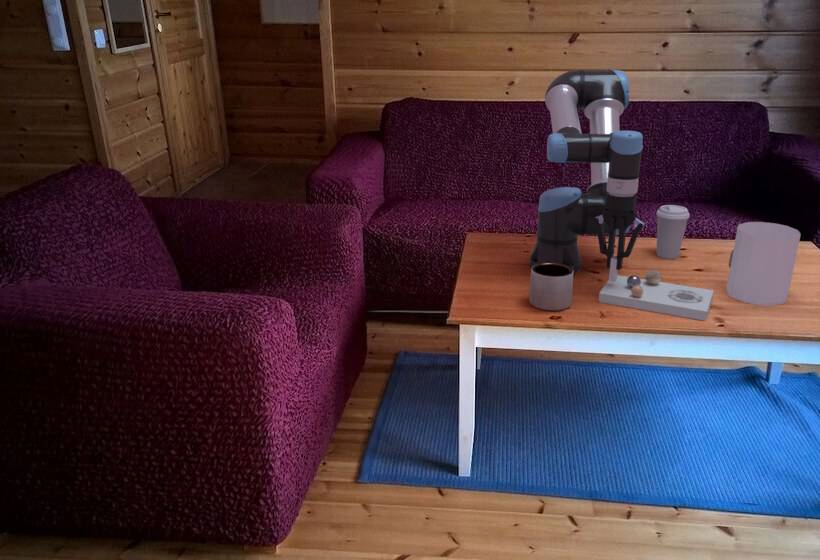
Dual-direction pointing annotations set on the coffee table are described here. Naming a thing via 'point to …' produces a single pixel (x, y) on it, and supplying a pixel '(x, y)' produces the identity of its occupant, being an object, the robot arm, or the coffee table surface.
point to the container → (763, 263)
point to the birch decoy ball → (653, 276)
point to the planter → (551, 286)
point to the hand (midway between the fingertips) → (612, 280)
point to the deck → (659, 298)
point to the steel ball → (633, 281)
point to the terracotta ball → (637, 291)
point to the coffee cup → (670, 230)
